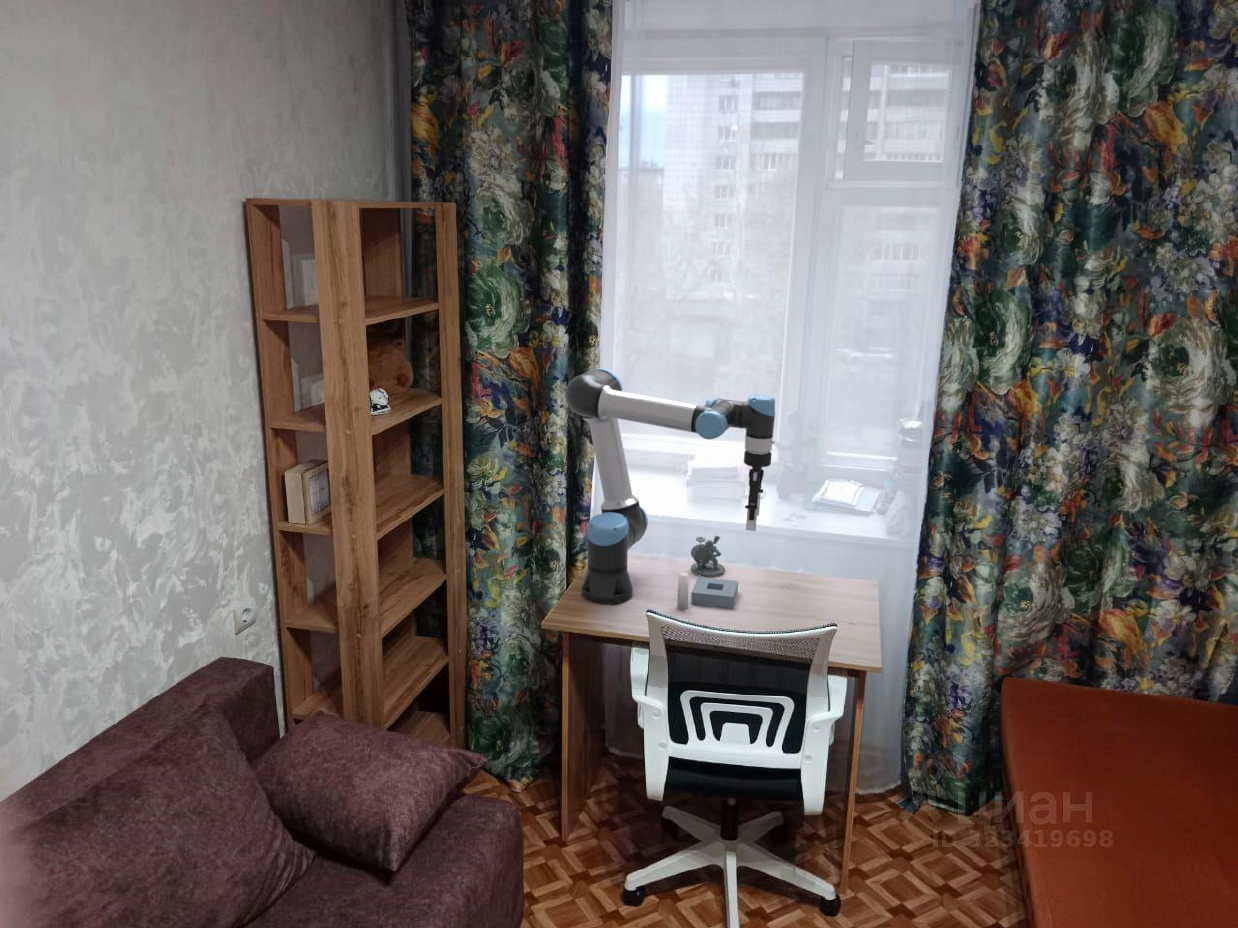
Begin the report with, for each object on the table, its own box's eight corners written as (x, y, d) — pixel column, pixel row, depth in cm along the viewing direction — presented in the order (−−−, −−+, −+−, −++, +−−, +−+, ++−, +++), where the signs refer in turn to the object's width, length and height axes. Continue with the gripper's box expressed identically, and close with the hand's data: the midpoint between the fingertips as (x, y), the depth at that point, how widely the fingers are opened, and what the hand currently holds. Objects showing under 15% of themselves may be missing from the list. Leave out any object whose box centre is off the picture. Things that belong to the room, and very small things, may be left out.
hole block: (691, 603, 265) (691, 592, 264) (697, 587, 276) (698, 576, 276) (732, 608, 263) (733, 596, 262) (737, 591, 274) (738, 580, 273)
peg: (676, 608, 262) (677, 575, 259) (678, 604, 265) (679, 571, 262) (686, 609, 261) (688, 577, 258) (688, 605, 264) (689, 573, 261)
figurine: (729, 576, 286) (731, 539, 282) (696, 578, 283) (697, 542, 280) (718, 563, 296) (719, 528, 292) (686, 565, 293) (687, 530, 290)
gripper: (769, 463, 245) (763, 538, 251) (773, 441, 268) (768, 509, 274) (740, 461, 246) (735, 535, 252) (748, 438, 270) (743, 507, 276)
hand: (752, 522), depth 263 cm, fingers open, 13 cm apart
